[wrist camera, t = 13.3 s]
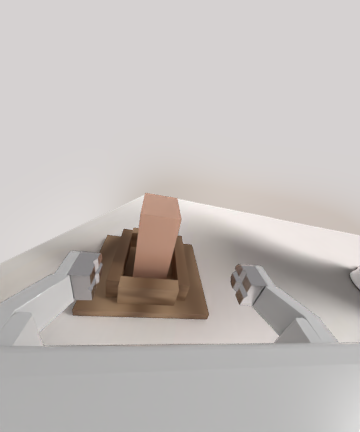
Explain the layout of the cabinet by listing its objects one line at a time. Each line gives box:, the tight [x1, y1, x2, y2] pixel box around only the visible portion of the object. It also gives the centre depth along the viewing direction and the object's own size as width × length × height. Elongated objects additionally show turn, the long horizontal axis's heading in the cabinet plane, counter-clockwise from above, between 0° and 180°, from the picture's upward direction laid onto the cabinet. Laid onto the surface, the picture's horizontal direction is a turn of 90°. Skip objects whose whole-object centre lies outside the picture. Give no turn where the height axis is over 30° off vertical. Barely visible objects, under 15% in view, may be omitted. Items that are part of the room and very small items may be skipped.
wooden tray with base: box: [72, 228, 209, 319], centre depth 26 cm, size 16×14×4 cm
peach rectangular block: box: [133, 193, 181, 279], centre depth 23 cm, size 4×6×11 cm
